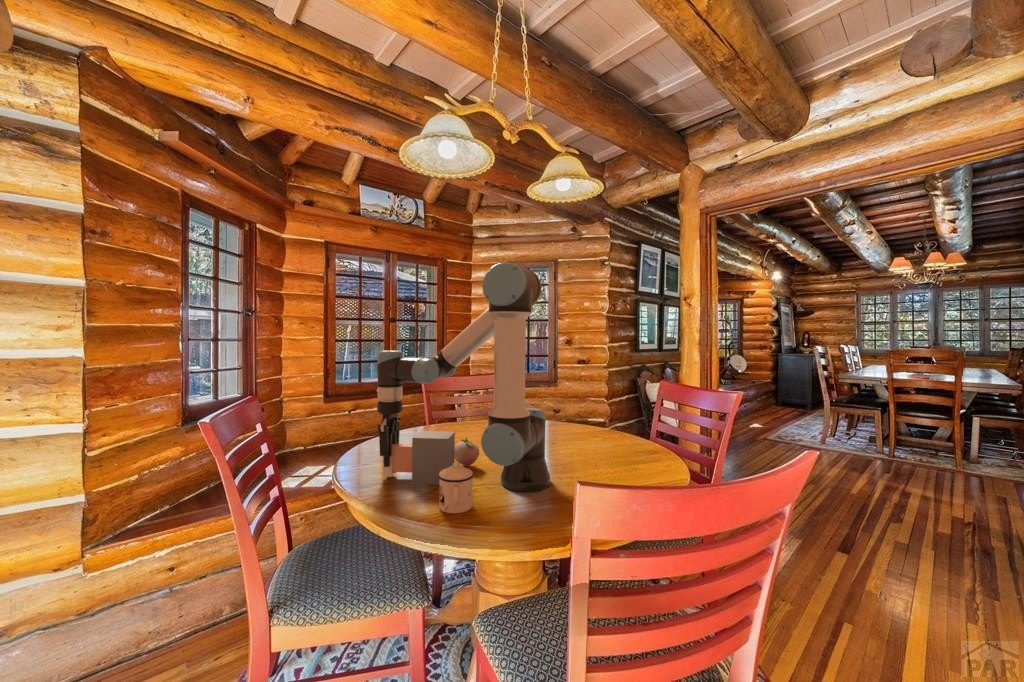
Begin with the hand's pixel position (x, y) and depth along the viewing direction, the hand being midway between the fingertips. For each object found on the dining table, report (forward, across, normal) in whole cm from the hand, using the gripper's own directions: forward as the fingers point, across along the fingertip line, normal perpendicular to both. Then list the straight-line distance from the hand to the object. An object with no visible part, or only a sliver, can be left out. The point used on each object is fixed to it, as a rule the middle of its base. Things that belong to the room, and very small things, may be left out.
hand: (389, 474), depth 130 cm
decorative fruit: (+1, -13, +22) cm, 25 cm away
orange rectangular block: (-1, 0, +7) cm, 7 cm away
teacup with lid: (+1, +20, +25) cm, 33 cm away
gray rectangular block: (+1, 0, +14) cm, 14 cm away
